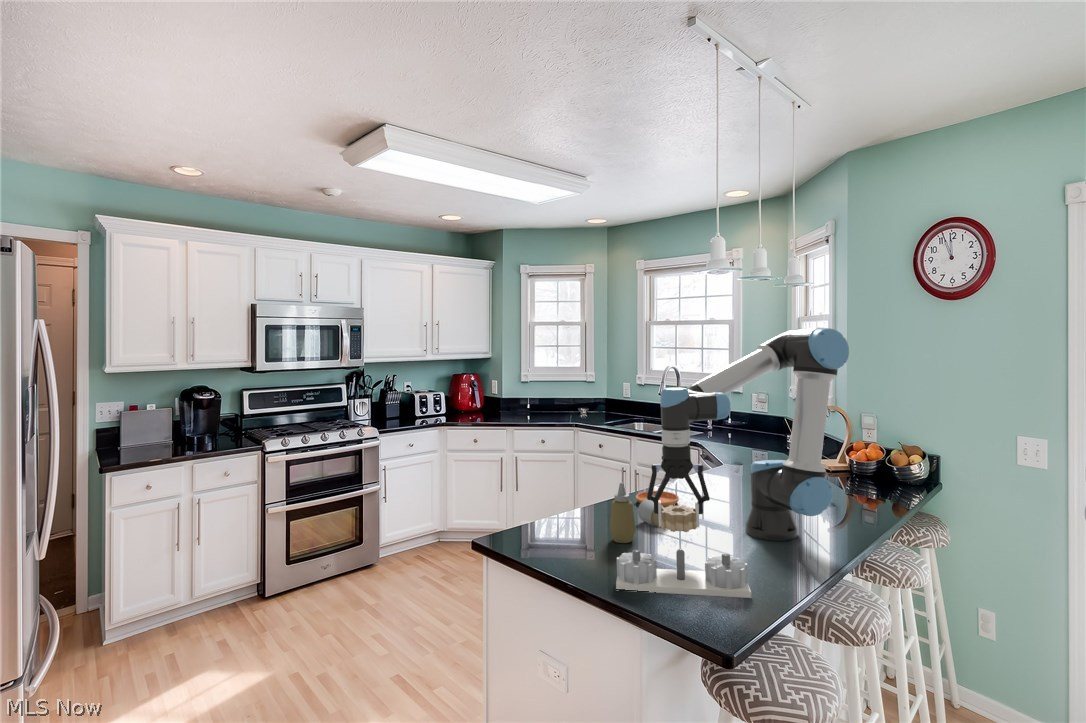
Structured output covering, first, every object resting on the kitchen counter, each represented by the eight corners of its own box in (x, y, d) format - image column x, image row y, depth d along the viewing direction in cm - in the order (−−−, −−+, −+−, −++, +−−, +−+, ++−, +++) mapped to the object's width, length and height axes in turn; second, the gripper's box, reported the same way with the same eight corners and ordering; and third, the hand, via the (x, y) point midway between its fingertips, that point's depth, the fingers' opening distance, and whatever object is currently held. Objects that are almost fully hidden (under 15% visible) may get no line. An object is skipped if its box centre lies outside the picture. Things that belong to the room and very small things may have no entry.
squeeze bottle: (619, 547, 168) (618, 487, 168) (604, 539, 175) (603, 482, 175) (641, 542, 172) (640, 484, 171) (625, 534, 179) (624, 478, 179)
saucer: (680, 510, 204) (680, 502, 203) (635, 509, 206) (635, 501, 206) (677, 498, 219) (677, 491, 219) (636, 497, 222) (636, 490, 222)
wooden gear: (694, 521, 157) (694, 505, 157) (697, 532, 148) (697, 515, 148) (661, 520, 159) (660, 504, 159) (661, 531, 150) (661, 515, 150)
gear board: (743, 578, 144) (743, 544, 143) (751, 598, 133) (750, 560, 132) (618, 572, 150) (617, 539, 149) (616, 590, 139) (615, 554, 139)
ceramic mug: (651, 529, 183) (651, 506, 183) (637, 522, 190) (637, 500, 190) (677, 525, 188) (677, 502, 187) (662, 518, 195) (662, 496, 195)
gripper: (635, 447, 151) (638, 528, 152) (719, 446, 147) (722, 530, 148) (635, 442, 159) (638, 520, 159) (716, 441, 154) (718, 521, 155)
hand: (678, 525), depth 154 cm, fingers closed on wooden gear, 9 cm apart
